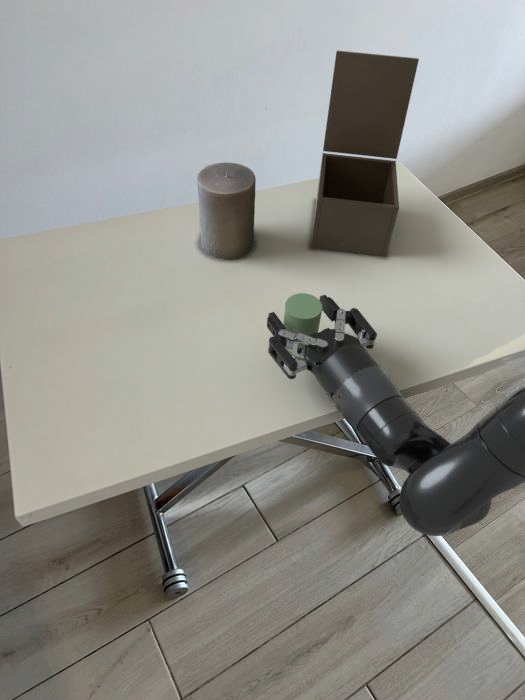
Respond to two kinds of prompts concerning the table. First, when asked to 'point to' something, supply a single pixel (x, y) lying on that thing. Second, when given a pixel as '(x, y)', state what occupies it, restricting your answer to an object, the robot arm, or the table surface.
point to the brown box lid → (369, 103)
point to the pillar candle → (226, 209)
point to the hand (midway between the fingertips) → (296, 307)
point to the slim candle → (302, 315)
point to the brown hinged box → (355, 205)
